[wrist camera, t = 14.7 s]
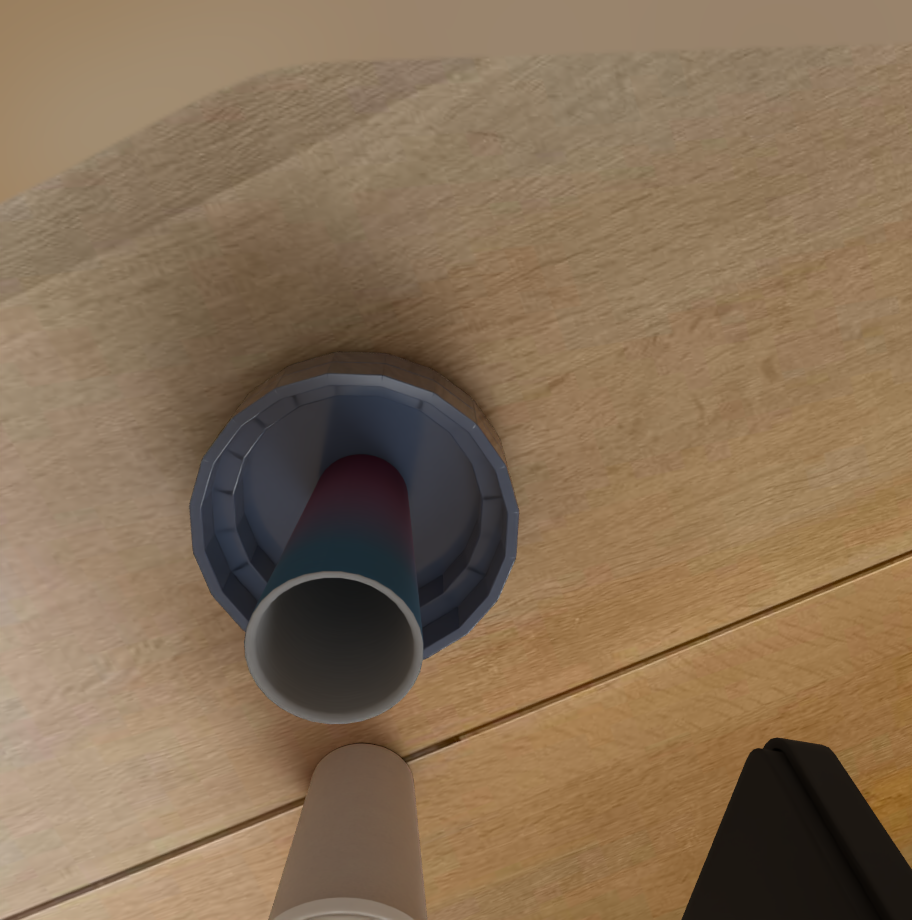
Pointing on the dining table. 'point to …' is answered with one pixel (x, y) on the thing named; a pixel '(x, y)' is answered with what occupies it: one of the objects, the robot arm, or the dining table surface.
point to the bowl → (349, 433)
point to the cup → (342, 601)
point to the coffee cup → (355, 842)
